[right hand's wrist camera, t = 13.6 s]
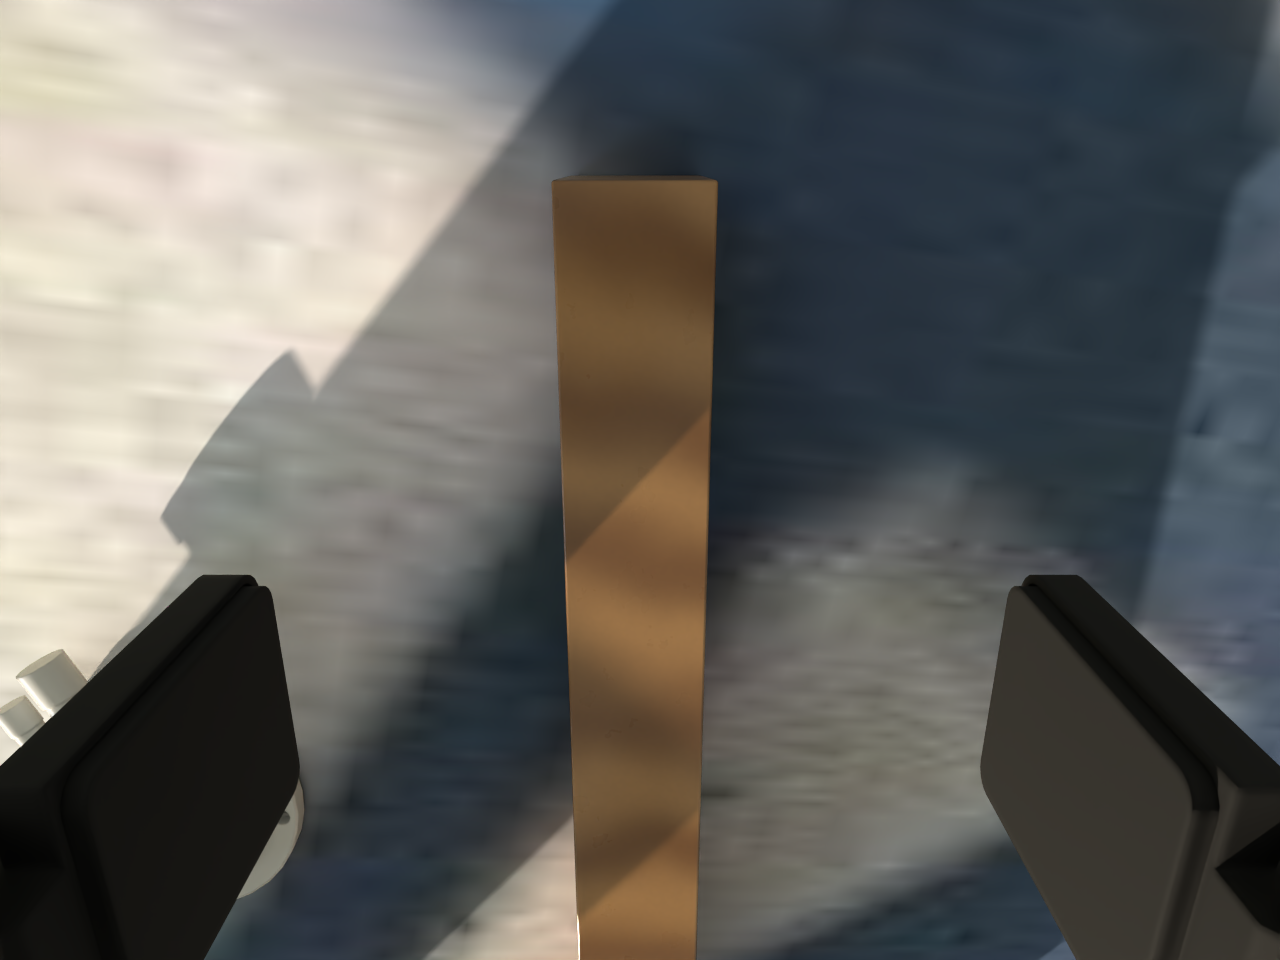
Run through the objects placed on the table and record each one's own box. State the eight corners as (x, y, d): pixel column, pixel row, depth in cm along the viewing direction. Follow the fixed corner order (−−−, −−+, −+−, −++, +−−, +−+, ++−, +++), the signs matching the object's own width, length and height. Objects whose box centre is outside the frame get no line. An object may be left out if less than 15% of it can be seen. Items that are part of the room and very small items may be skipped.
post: (568, 175, 33) (551, 180, 26) (702, 175, 33) (718, 180, 26) (598, 1221, 54) (592, 1370, 47) (679, 1221, 54) (684, 1370, 47)
